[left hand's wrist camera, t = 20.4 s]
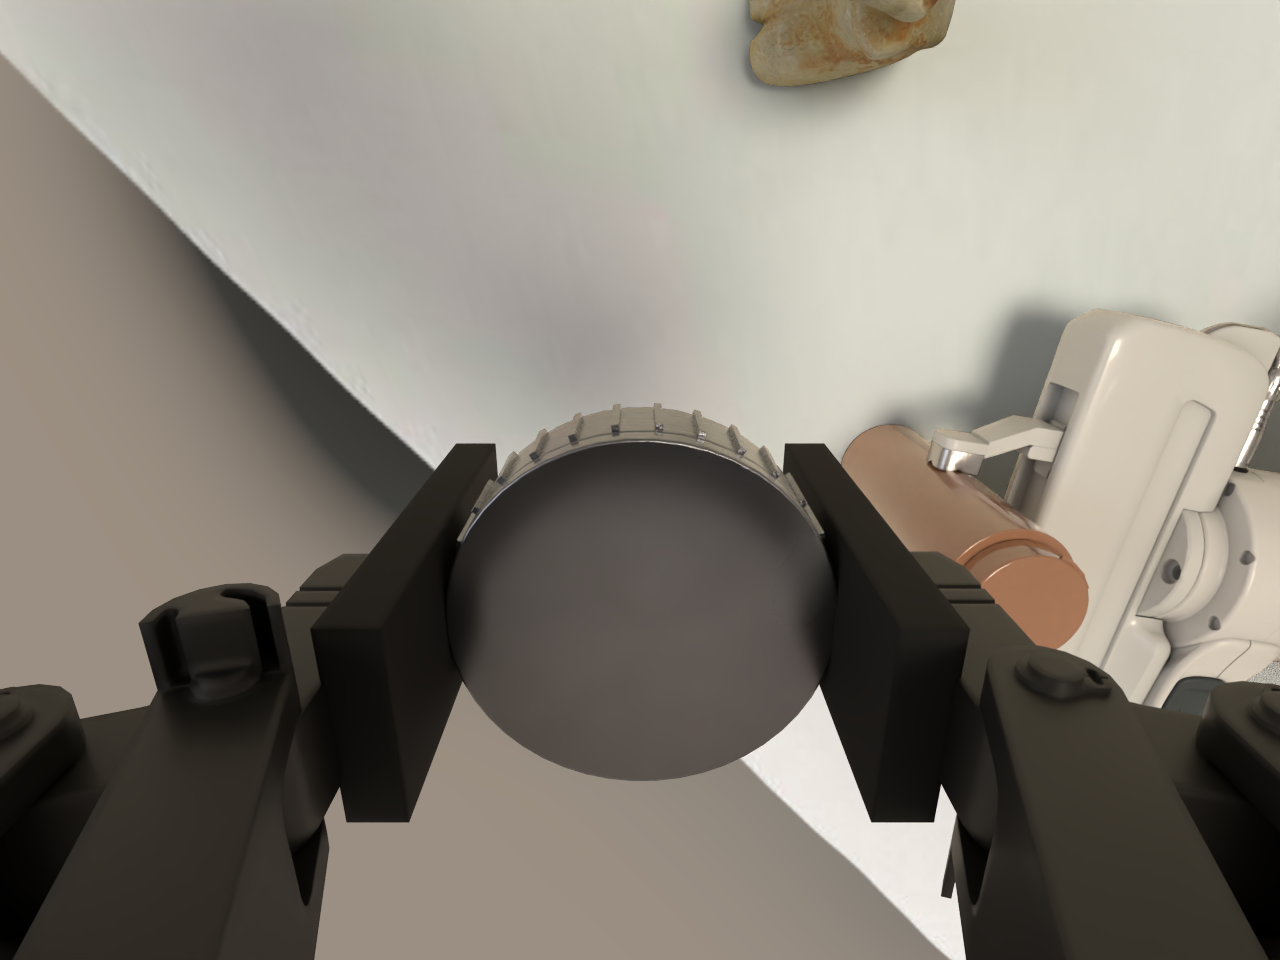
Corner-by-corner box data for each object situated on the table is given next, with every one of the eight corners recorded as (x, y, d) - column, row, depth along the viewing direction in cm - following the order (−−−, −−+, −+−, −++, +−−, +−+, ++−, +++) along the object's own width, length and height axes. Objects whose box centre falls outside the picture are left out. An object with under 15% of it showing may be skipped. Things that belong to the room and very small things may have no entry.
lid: (485, 370, 11) (458, 397, 9) (862, 438, 11) (899, 476, 9) (448, 689, 13) (422, 755, 11) (769, 738, 13) (786, 809, 11)
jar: (892, 523, 40) (1032, 692, 26) (822, 480, 39) (927, 630, 25) (948, 453, 39) (1131, 590, 24) (877, 407, 38) (1023, 520, 23)
